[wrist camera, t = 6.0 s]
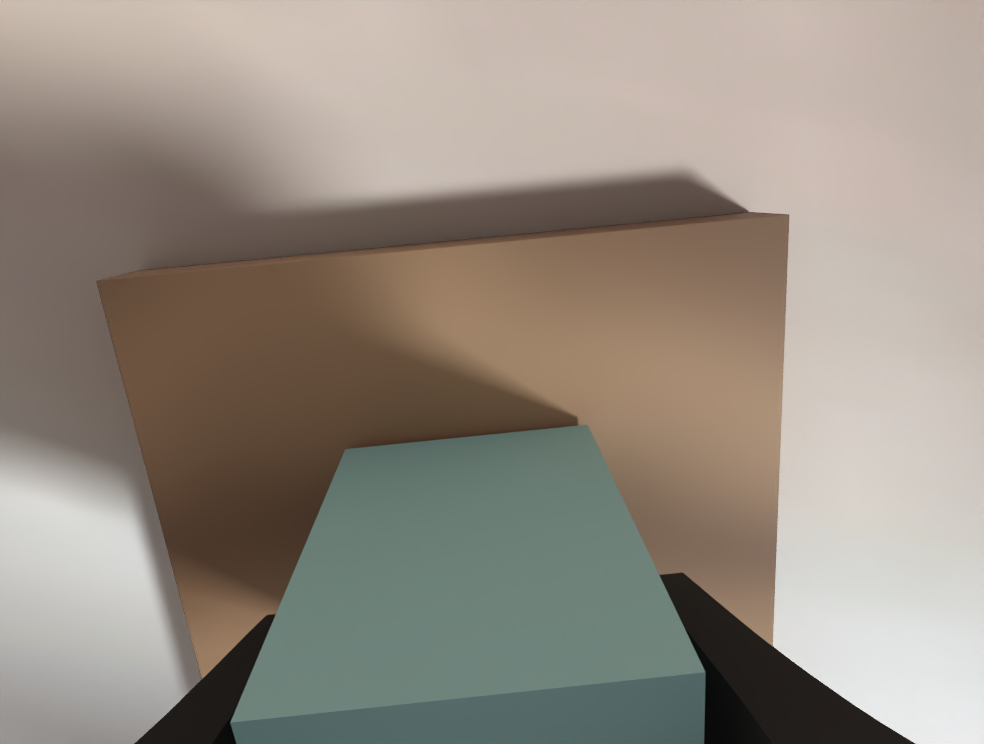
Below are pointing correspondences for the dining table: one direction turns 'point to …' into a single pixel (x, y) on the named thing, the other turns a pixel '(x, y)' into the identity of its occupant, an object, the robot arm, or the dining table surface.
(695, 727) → the teal block
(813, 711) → the robot arm
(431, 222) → the dining table surface
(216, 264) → the walnut slab
